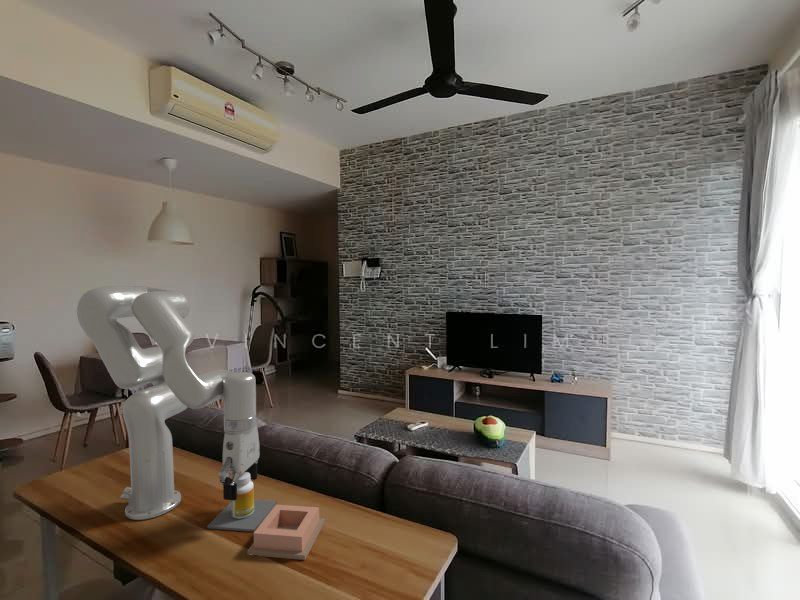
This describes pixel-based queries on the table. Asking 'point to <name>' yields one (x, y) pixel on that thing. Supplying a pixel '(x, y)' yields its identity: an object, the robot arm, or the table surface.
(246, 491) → the supplement bottle
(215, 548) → the table surface
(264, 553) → the collar block
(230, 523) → the rubber mat
